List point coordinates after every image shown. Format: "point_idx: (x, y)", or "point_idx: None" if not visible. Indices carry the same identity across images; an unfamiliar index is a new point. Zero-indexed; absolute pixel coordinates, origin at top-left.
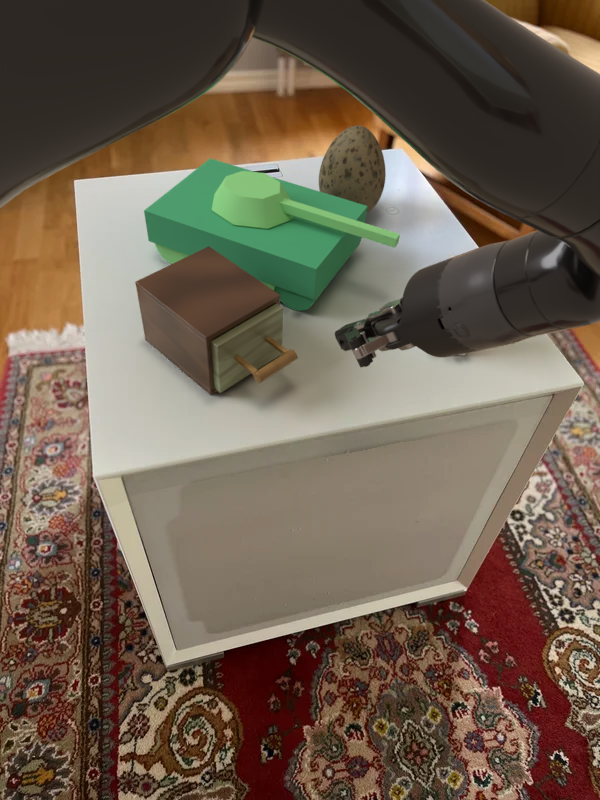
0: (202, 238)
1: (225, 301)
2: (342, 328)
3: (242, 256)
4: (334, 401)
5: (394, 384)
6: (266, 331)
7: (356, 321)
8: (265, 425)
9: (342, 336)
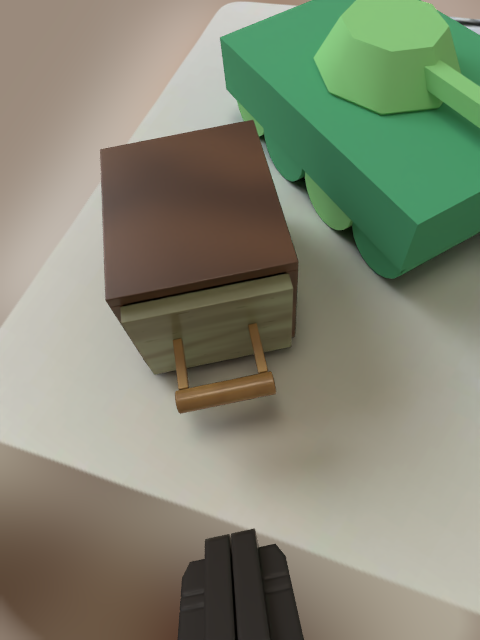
0: (274, 103)
1: (194, 236)
2: (215, 561)
3: (316, 152)
4: (323, 486)
5: (461, 513)
6: (249, 316)
7: (261, 584)
8: (182, 468)
9: (181, 608)
